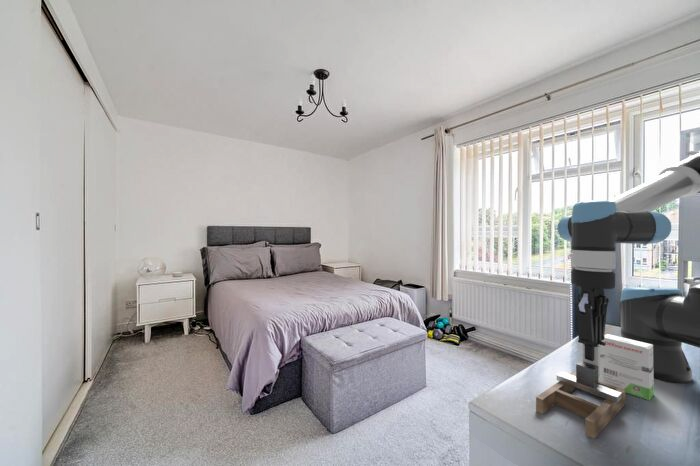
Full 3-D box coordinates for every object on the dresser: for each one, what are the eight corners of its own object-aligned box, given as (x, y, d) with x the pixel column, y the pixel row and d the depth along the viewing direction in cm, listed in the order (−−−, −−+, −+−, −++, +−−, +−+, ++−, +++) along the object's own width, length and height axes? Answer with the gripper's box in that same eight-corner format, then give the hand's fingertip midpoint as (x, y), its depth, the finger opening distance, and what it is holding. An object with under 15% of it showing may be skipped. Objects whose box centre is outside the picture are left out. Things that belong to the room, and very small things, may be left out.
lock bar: (562, 376, 66) (562, 354, 66) (621, 398, 57) (621, 373, 57) (556, 380, 64) (556, 357, 64) (617, 403, 56) (617, 377, 56)
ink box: (654, 394, 64) (654, 343, 64) (649, 401, 61) (649, 348, 61) (606, 378, 71) (606, 332, 71) (599, 383, 69) (599, 336, 69)
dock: (573, 384, 68) (573, 371, 68) (625, 403, 60) (625, 390, 60) (536, 411, 58) (536, 396, 58) (593, 439, 50) (593, 422, 50)
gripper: (582, 266, 69) (581, 359, 69) (560, 269, 62) (559, 373, 62) (624, 269, 63) (622, 372, 63) (604, 273, 56) (602, 389, 56)
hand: (591, 372), depth 63 cm, fingers closed
